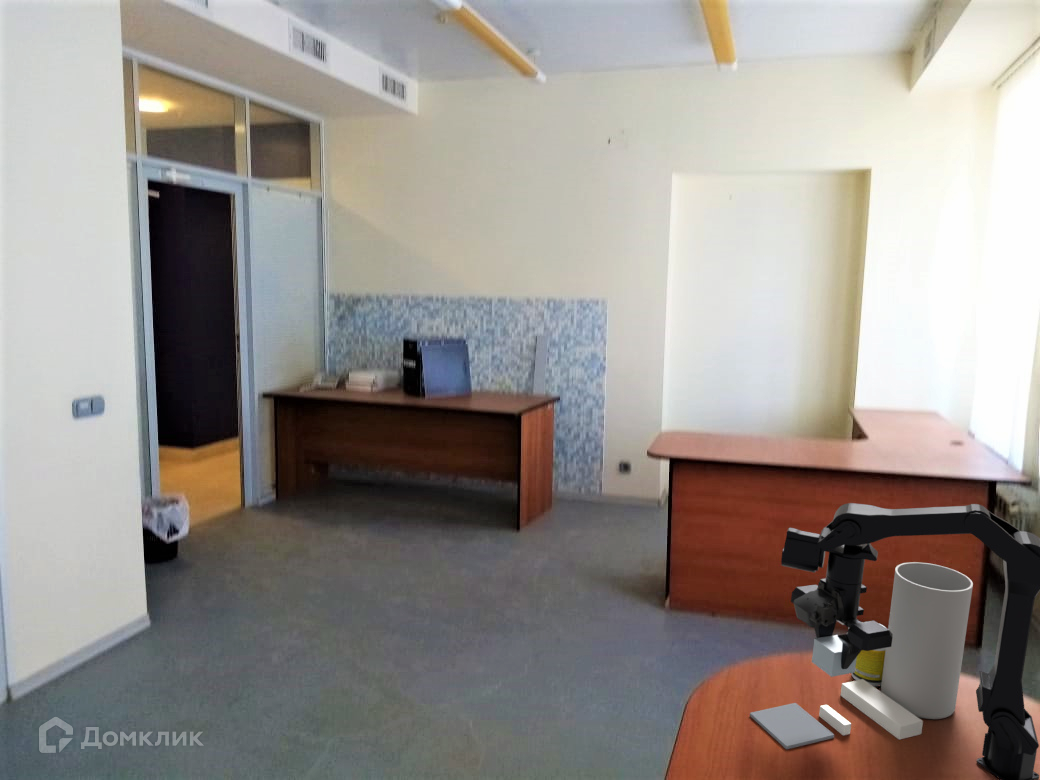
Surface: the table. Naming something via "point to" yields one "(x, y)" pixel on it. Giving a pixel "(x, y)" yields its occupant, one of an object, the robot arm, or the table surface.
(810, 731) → the mat
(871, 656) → the pill bottle
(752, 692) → the table surface
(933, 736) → the table surface
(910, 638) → the cylinder vase
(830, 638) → the pale blue cube
